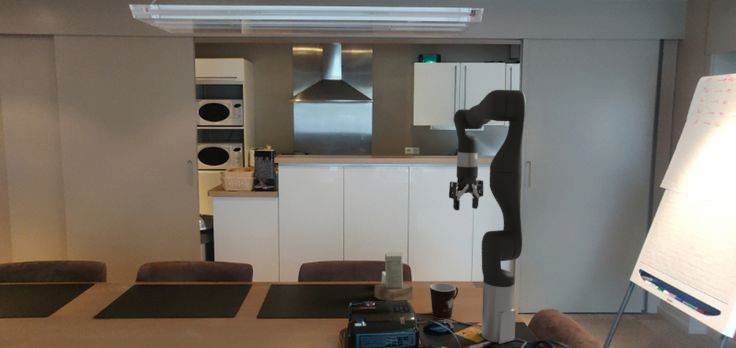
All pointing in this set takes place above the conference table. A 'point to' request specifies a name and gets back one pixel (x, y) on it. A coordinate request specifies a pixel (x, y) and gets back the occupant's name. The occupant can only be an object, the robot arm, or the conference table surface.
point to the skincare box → (393, 270)
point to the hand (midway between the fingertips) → (465, 209)
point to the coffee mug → (442, 299)
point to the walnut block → (393, 292)
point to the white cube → (383, 277)
